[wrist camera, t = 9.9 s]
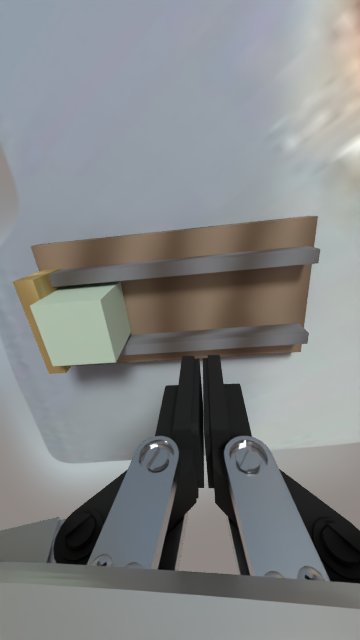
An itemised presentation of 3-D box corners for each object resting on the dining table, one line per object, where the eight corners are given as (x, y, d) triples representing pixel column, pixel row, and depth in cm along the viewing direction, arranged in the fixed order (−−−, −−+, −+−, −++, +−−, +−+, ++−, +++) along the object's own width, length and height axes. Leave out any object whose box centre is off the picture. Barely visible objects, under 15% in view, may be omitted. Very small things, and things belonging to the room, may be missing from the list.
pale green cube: (120, 280, 20) (100, 299, 16) (131, 332, 22) (115, 362, 18) (65, 285, 21) (29, 305, 16) (80, 335, 23) (52, 366, 18)
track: (308, 216, 19) (350, 217, 14) (294, 343, 24) (321, 377, 19) (41, 244, 21) (-6, 253, 16) (78, 357, 26) (51, 392, 21)
